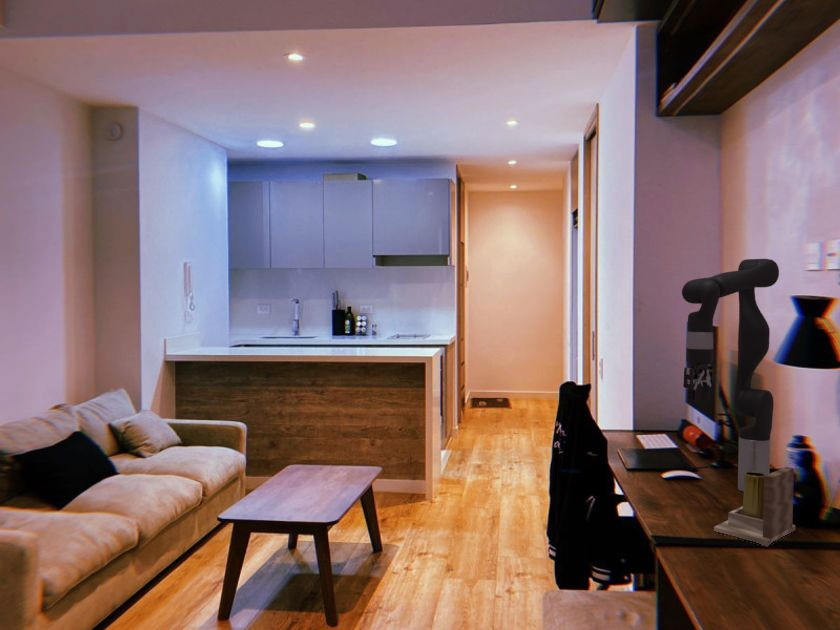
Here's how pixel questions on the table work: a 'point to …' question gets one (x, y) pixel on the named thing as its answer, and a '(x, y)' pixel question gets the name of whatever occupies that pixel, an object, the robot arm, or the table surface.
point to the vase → (753, 494)
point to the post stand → (766, 512)
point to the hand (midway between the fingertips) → (698, 400)
